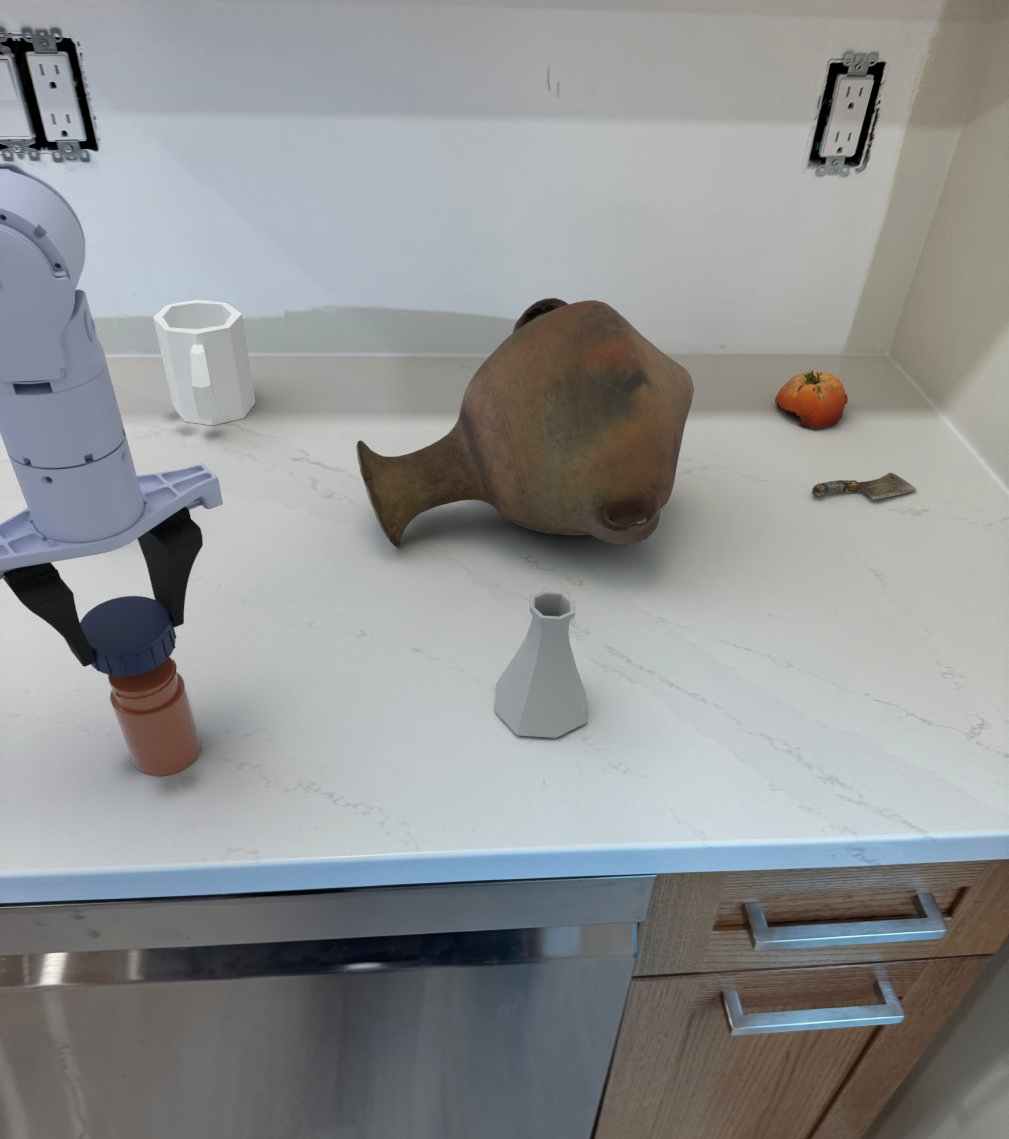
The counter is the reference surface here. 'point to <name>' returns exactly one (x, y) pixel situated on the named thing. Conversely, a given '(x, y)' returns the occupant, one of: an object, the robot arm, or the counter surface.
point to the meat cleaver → (866, 487)
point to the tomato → (814, 398)
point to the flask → (543, 674)
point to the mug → (205, 361)
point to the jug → (552, 432)
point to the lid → (129, 635)
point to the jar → (156, 719)
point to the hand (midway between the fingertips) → (129, 635)
